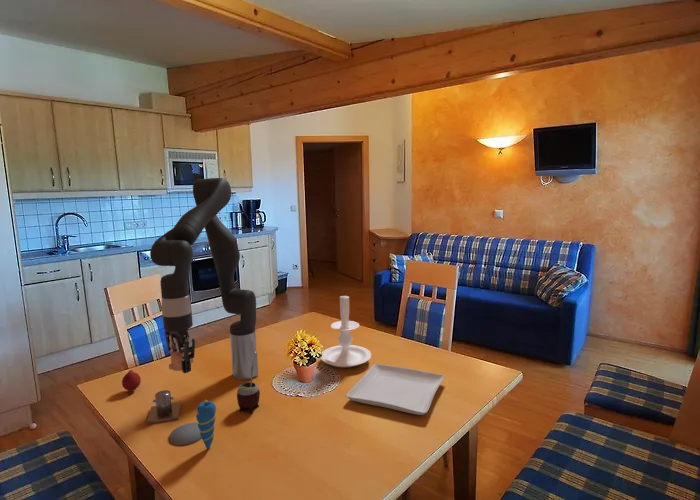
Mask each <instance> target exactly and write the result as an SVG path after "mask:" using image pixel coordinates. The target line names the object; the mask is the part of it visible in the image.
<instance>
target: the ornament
mask: <svg viewBox="0 0 700 500" xmlns="http://www.w3.org/2000/svg"><path fill="white" fill-rule="evenodd" d="M196 412H197V413H196V416H195V418H196V419H195V420H196V421H197V423H198V428H199V429H200V435H201V440H202V441H203V443H204V445H205V448H206V449H207V450H210V448H211V446H212V444H213V440H214V436H215V435H214V432H215V422H216V412H217V407H216V404H215V402H213V401H210V400H208V399H207V398H204V401H202V402H200V403H199V404H198V405H197V407H196Z"/></svg>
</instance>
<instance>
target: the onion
mask: <svg viewBox="0 0 700 500" xmlns="http://www.w3.org/2000/svg"><path fill="white" fill-rule="evenodd" d="M141 381H142V379H141V376H140V375H139V374H138V373H137V372H134V371H133V369H129V370H128V372H127V373H126V374H125V375H124V376H123V377H122V380H121V385H122V387H123V389H124V390H126V391H128V392H134V391H135V390H136V389H137V388H139V386H140V385H141Z"/></svg>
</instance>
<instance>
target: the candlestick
mask: <svg viewBox="0 0 700 500" xmlns="http://www.w3.org/2000/svg"><path fill="white" fill-rule="evenodd" d="M339 308H340V309H339V310H340V311H339V313H340V314H339V315H340V320H339V321H334V322H332V323H330V327H331V328H332V329H333V330H336V331H340V333H339V336H338V337H337V340H338V343H339V345H334V346H331V347H328V348H326V349H324V350H323V351H322V352H321V353H322V357H321V358H320V360H321V361H322V362H324V363H325V364H327V365H330V366H332V367H336V368H354V367H358V366H360V365H362V364H364V363H367V362H368V361H370V359H371V358H372V353H371V351H370V350H369V349H368V348H365V347H363V346H360V345H354V344H352V343H353V335H352V334H351V332H350V331H352V330H357V329H358V328H359V327H360V323H359V322H356V321H353V320H350V318H349V317H350V296H348V295H341V296H339Z"/></svg>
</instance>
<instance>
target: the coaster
mask: <svg viewBox="0 0 700 500" xmlns="http://www.w3.org/2000/svg"><path fill="white" fill-rule="evenodd" d="M200 440H202V438H201V435H200V429H199V428H198V422H189V423H185V424H182V425H180V426H178V427H176V428H175V429H173V430H172V431H171V432H170V434H169V442H170V443H172V444H173V445H176V446H186V445H190V444H194V443H196V442H199V441H200Z"/></svg>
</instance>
